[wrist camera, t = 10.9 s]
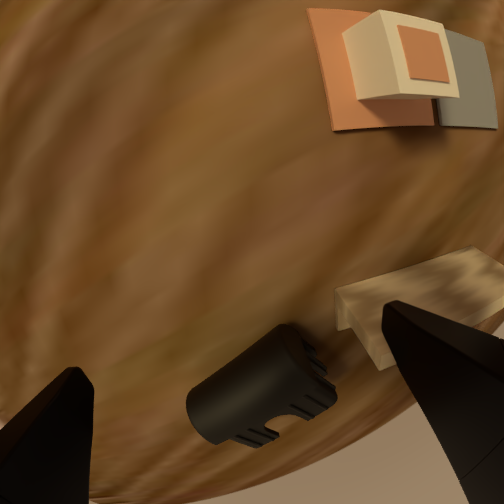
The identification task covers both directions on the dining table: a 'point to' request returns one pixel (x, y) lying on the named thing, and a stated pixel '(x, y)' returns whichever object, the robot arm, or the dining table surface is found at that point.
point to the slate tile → (469, 86)
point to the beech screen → (422, 296)
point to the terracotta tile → (342, 85)
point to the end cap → (261, 390)
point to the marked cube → (400, 58)
